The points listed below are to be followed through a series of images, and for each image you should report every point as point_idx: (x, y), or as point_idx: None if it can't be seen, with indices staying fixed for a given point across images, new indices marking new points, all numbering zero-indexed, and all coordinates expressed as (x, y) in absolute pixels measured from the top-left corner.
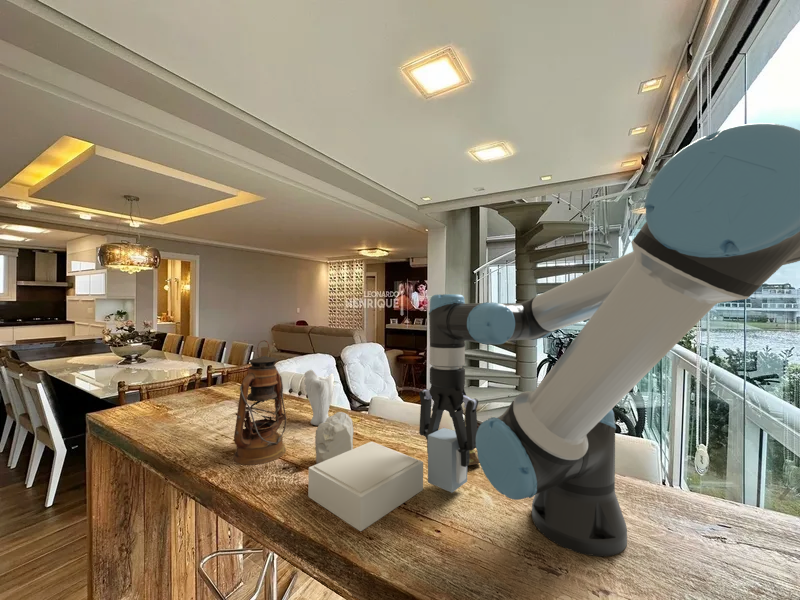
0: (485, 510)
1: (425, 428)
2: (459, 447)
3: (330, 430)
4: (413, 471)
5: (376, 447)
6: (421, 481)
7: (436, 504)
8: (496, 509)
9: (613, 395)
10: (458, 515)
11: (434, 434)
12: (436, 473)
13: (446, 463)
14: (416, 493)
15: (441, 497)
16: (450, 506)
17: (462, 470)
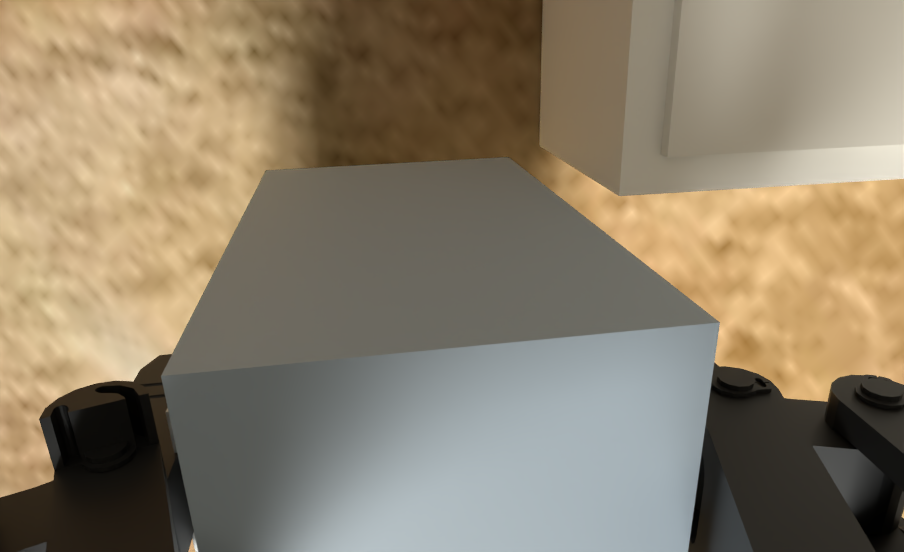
0: (59, 254)
1: (886, 506)
2: (161, 454)
3: None
4: (612, 16)
5: None
6: (561, 136)
7: (348, 62)
8: (19, 316)
9: None
10: (142, 64)
11: (638, 425)
12: (435, 185)
13: (309, 232)
14: (542, 63)
15: (379, 163)
16: (259, 117)
17: None
